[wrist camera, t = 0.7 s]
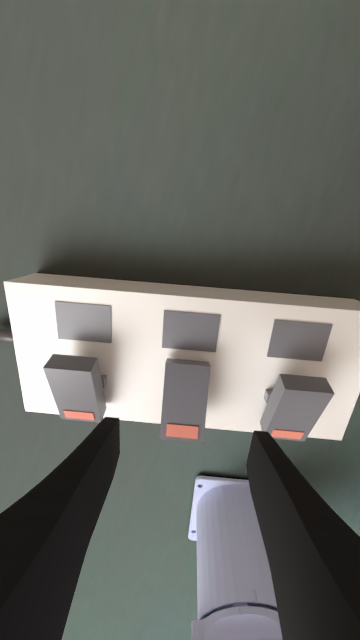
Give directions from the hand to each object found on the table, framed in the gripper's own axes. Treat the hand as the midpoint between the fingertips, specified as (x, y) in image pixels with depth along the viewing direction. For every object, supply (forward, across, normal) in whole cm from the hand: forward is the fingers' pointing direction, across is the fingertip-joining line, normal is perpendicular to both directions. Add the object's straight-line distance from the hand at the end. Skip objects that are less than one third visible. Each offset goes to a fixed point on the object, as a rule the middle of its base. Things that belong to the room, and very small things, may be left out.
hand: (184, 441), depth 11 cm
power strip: (+10, +2, 0) cm, 10 cm away
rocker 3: (+5, -7, +2) cm, 9 cm away
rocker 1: (+5, +7, +2) cm, 9 cm away
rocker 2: (+5, 0, +2) cm, 5 cm away
